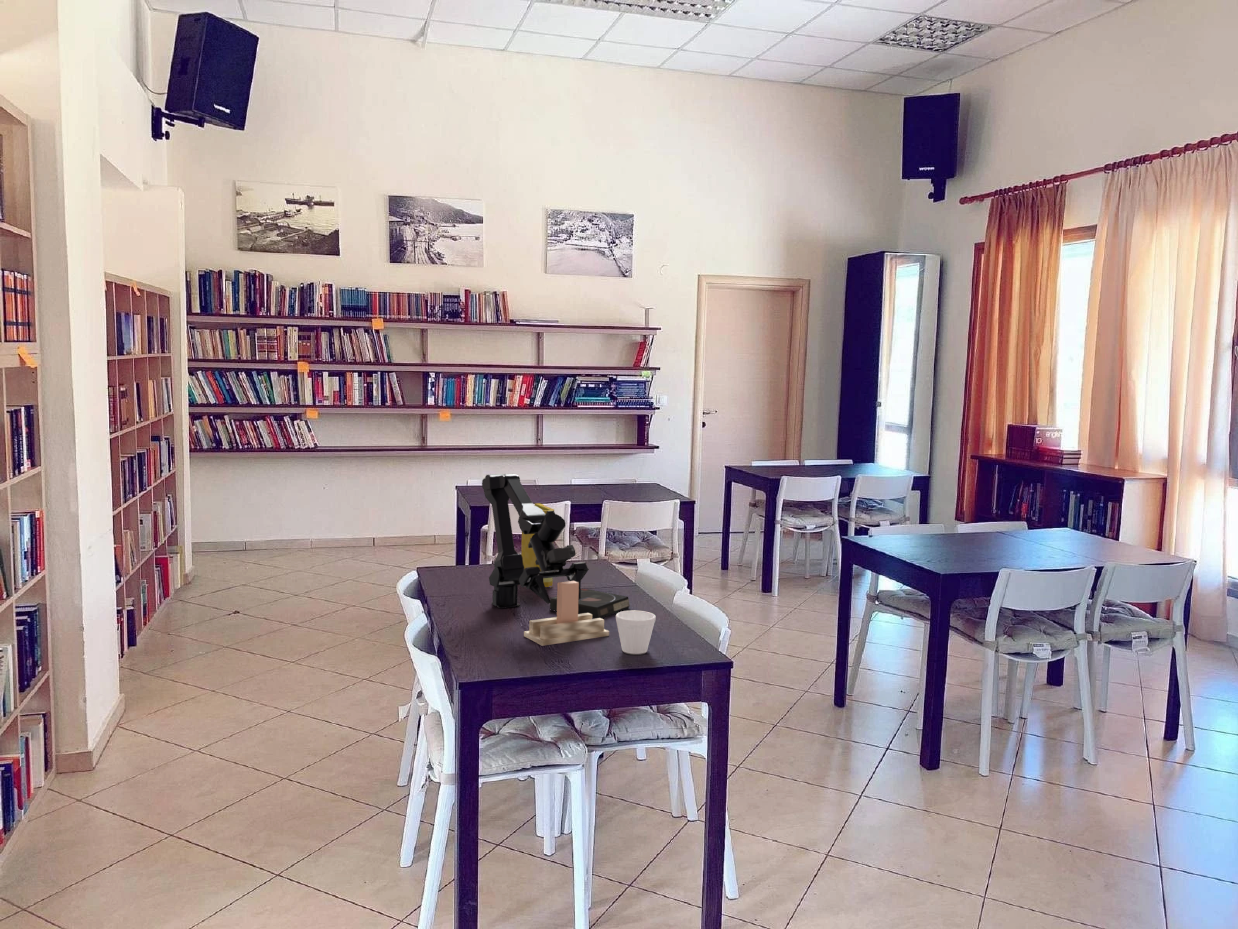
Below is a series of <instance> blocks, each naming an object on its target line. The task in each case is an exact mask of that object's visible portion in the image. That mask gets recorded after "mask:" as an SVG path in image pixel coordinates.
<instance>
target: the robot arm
mask: <svg viewBox="0 0 1238 929" xmlns="http://www.w3.org/2000/svg"><path fill="white" fill-rule="evenodd" d="M481 487H482V489H483V493H484V497H485V499H486V500H487V501H488V502H489V504H490V505H491V509H492V517H493V522H494V531H495V538H496V546H497V555H496V558H495V559H494V562H493V566H494V567H493V568H494V569H492V572H491V574H489V577H488V581H489V585H490V586H492V587H493V590H492V597H491V598H492V600H491V605H492V606H495V607H496V606H497V608H498V609H508V608H515V607H516V606H517V607H521V604H520V603H518V594H519V592H518V590H519V589H518V588H519V586H520V587H521V588H525V589H526V590H530V591H531V592H533V594H535V595H537V596H538V597H539V598H540V599H541V600H543V601H544V603H546V605H550V598H551V597H550V596H549V592H548V590H547V588H545V585H544V582H543V578H561V577H566V578H567V580H568V581H576V582H578V583H579V596H578V600H580V599H581V589H582V586H581V582H582V580H583V579H584V577H585V575H587V573H588V571H589V569H590V568H589V566H588V564H587V563H586V562H585V561H582V562H581V561H580V562H572V563H571V565H570V566H569V567H568V568H564V567H565V566H566V565H567V561H570V560H572V558H574V557H575V556H577V555H576V554H577V553H576V549H575V547H574V545H573V544H567V545H566V546H564V547H558V548H557V547H555V544H554V543H555V542H557V540H558V539H559V537H560V535H561V534H562V533H563V531H564V529H565V527H566V524H567V523H566V520H565V519H564V517H563V516H561V515H559V514H557V513H555V510H554V511H547V513H546V514H545V513H544V512H543V511H542V509H540V508H538V507H537V506H535V503H534V502H533V500H531V498H530V496H529V495H528V492H527V491H526V489H525V488H524V485H523V484H522V482H521V478H520V475H519V474H517V473H495V474H491V473H490V474H486V475H485V477H484V478H483V479H482V480H481ZM509 501H511V503H512V505H513V507H514V509H515V511H516V512H517V514H518V520H517V523H518V525H519V529H520V530H521V533H522V532H523V534H534V535H533V536H532V538H530V542H529V544H528V548H533V551H534V553H535V556H536V558H537V560H536V561H535V563H536V565H539V566H540V568H539V567H527V568H525V569H524V565H523V557H522V555H521V553H520V554H518V552H517V551H516V549H515V543H514V535H513V529H512V528H513V527H512V521H511V514H510V507H509ZM553 542H554V543H553ZM540 569H541V571H540ZM517 607H516V608H517Z"/></svg>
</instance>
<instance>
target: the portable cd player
mask: <svg viewBox="0 0 1238 929" xmlns="http://www.w3.org/2000/svg"><path fill="white" fill-rule="evenodd" d="M549 598H550V603H549V610H550V609H551V610H555V611H554V612H556V611H557V595H556V596H553V597H549ZM630 605H631V604H630V599H629V596H628V595H627V596H626V595H622V594H616V593H611V592H610V593H609V592H604V591H600V590H593V589H588V588H584V587H583V588H582V587H581V599H580V600H578V614H583V613H590V614H592V618H593V619H596V618H602V619H603V617H604V618H606V617H609V616H612V615H615V614H617V613H619V611H620V612H622V610H623V611H625V610H624V609H626V610H628V609H629V608H630ZM551 610H550V611H551ZM614 613H615V614H614ZM611 614H612V615H611ZM605 616H606V617H605Z"/></svg>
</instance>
